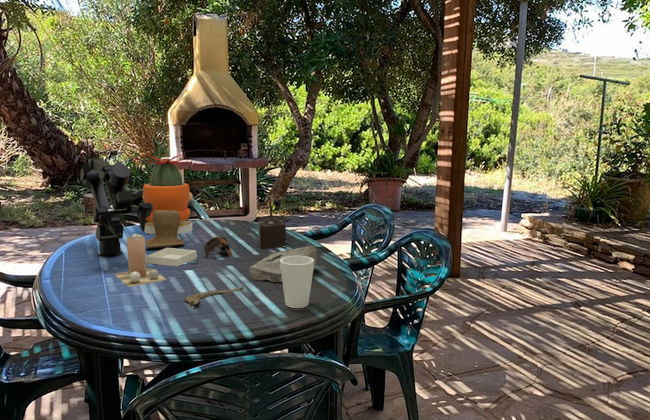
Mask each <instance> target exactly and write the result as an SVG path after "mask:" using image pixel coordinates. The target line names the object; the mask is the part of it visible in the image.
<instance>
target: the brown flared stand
mask: <svg viewBox="0 0 650 420" xmlns="http://www.w3.org/2000/svg"><path fill="white" fill-rule="evenodd" d="M153 223H154V227H155V232H156V235H154V237H153V238H150V239H145V248H146V249H160V248H172V247H176V246H182V245H184V244H185V241H184V240H183V239H180V237H178V234H177V232H178V228H179V224H180V214H179V212H178V211H162V210H156V211H154V214H153Z"/></svg>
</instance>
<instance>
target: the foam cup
mask: <svg viewBox="0 0 650 420" xmlns="http://www.w3.org/2000/svg"><path fill="white" fill-rule="evenodd" d="M280 270H281V274H282V282H283V283H282V282H281V283H282V288H283V294H284V295H283V296H284V301H285V302H284V303H285V307H286V306H288V307H291V308H303V307H306V306H307V305H308V306H309V303H310V296H311V287H312V282H313V281H312V280H313V275H314V274H313V273H314V270H315V268H314V259H313V258H311V257H307V256H287V257H283V258H282V259H280ZM308 306H307V307H308ZM288 307H287V308H288ZM307 307H306V308H307ZM303 309H304V308H303Z"/></svg>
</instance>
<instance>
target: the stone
mask: <svg viewBox="0 0 650 420" xmlns="http://www.w3.org/2000/svg"><path fill="white" fill-rule="evenodd" d="M315 246H316V245H306V246H302V247H297V248H294V249H290V250H286V251H284V250H281V251H280V250H279V251H277V252H274V253H270V254H269V255H268V256H266V257H264V258H262V259H260V260H259V261H257V262H256V263H254V264H253V265H251V266H250V267H249V270H248V271H249V275H250V279H251V280H254V281H265V280H267V281H269V282H272V283H273V282H274V283H275V282H277V283H282V284H283V282H282V274H281V270H280V259H282V258H283V257H287V256H307V257H311V258H313V259H314V269H315V268H316V266H317V259H318V250H317V248H316V247H315Z"/></svg>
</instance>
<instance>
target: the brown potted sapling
mask: <svg viewBox="0 0 650 420" xmlns="http://www.w3.org/2000/svg"><path fill="white" fill-rule="evenodd" d="M282 203H283V200H281V198H275V199H273V200H272V204H273V205H274V209H273V205H269V206H268V207H269V210H268V212H269V217H268V218H267V219H264V220H262V221H260V220H259V221H257V236H258V237H257V239H258V243H259V244H258V243H257V244H258V246H259V245H260V246H259V247H260V248H261V249H273V248H272V247H282V246H286V245H287V242H286V235H287V232H286V230H287V229H286V228H287V227H286V224H285V223H284V221H283V220H281V219H280V217H278V218H276V217H273V212H274V213H275V212H278V211H279V210H281V209H282V208H281V206H282ZM286 247H287V246H286ZM282 248H283V247H282Z"/></svg>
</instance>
